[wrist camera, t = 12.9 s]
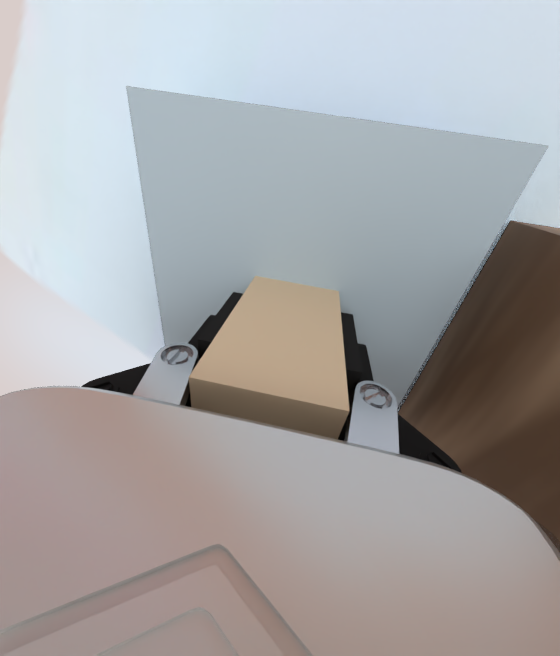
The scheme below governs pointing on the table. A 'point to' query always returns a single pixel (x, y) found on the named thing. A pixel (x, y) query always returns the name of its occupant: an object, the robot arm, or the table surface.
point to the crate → (502, 376)
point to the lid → (312, 244)
